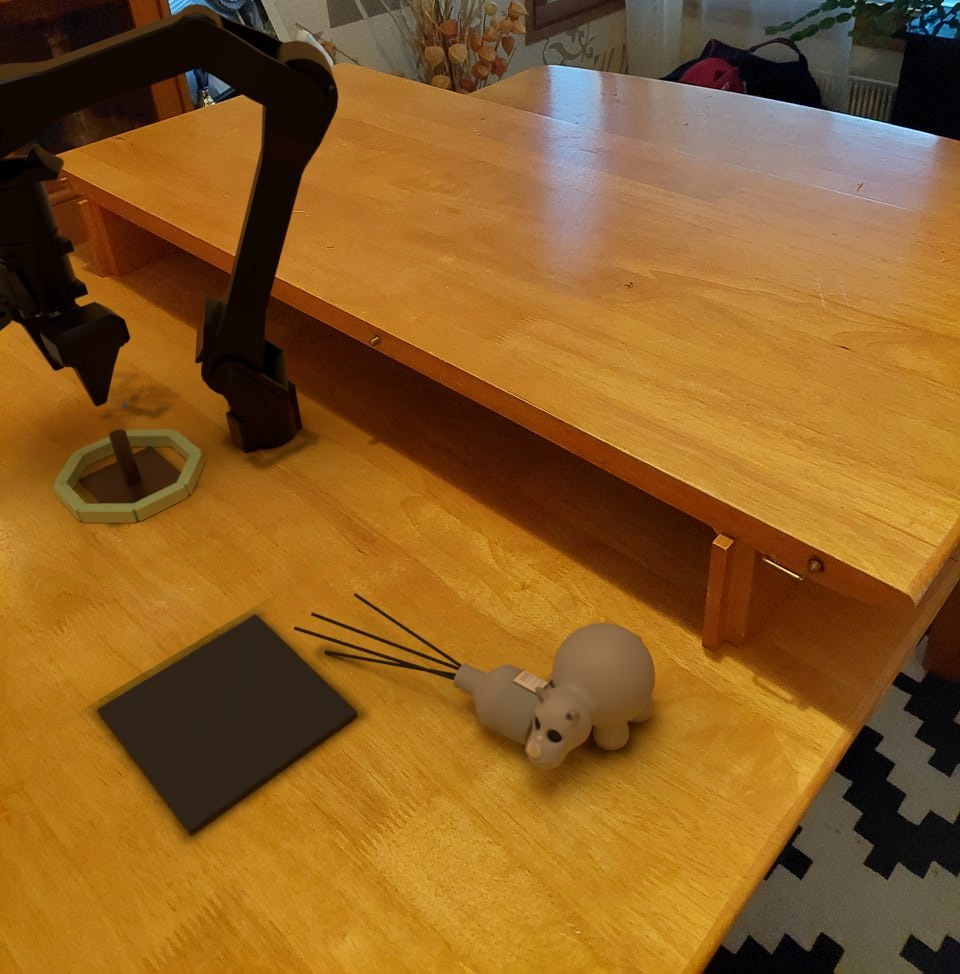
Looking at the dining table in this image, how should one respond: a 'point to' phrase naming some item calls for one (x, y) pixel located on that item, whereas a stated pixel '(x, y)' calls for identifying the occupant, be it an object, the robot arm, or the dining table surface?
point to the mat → (225, 720)
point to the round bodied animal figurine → (592, 693)
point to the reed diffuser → (467, 682)
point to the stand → (130, 473)
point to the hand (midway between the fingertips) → (79, 386)
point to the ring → (140, 508)
